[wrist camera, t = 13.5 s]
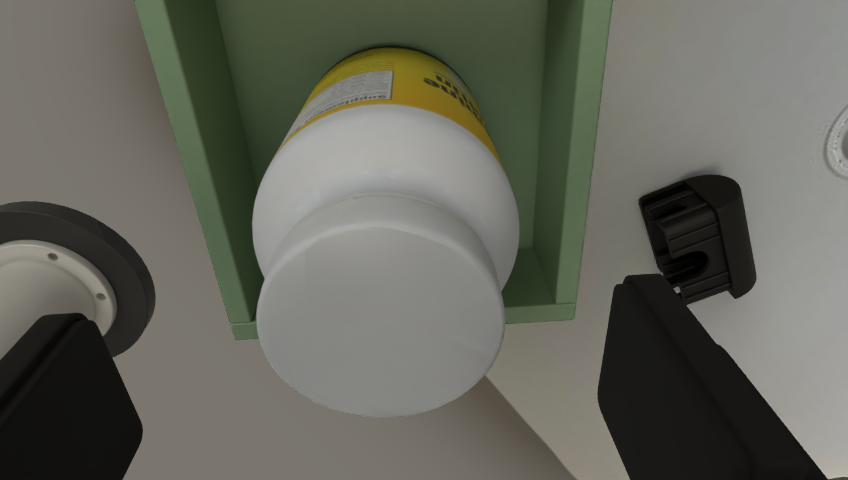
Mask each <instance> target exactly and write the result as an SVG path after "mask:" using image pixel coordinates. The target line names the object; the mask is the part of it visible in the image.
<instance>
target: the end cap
mask: <svg viewBox="0 0 848 480" xmlns="http://www.w3.org/2000/svg"><path fill="white" fill-rule="evenodd" d="M639 205H640V208H641V212H642V215H643V219H644V222H645V225H646V229H647V232H648V235H649V239H650V242H651V246H652V249H653V252H654V256H655V259H656V263H657V266H658V268H659V269H660V271H661V272H662V273H663V276H664V278H665V279H666V280H667V281H668V283H669V284H670V285H671V287H672V288H675V287H678V286H679V288H680V293H677V294H678V296H679V297H680V298H681V299H682V301H683V302H684V303H685V305H688V304H691V303H694V302H696V301H699V300H702V299H705V298H707V297H710V296H713V295H716V294H718V293H721V292H724V291H728V292H729V293H730V294H731V295H732V296H733V297H734V298H735V299H737V298H739V297H741V296H743V295H745V294H746V293H748V292H749V291H750V290H751V289H752V287H753V286H754V284H755V282H756V270H755V264H754V259H753V253H752V248H751V242H750V237H749V231H748V226H747V220H746V215H745V209H744V204H743V198H742V193H741V188H740V186H739V184H738V183H737V182H736V181H735V180H733V179H731V178H729V177H726V176H721V175H701V176H696V177H692V178H688V179H686V180H683V181H680V182H677V183H675V184H672V185H670V186H667V187H665V188H663V189H660V190H658V191H655V192H653V193H650V194H648V195H645V196H643V197H642V198H641V199H640V200H639Z"/></svg>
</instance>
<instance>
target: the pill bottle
mask: <svg viewBox="0 0 848 480" xmlns="http://www.w3.org/2000/svg"><path fill="white" fill-rule="evenodd" d="M252 232H253V245H254V249H255V254H256V257H257V261H258V264H259V267H260V269H261V272H262V274H263V276H264V279H265V280H264V283H263V286H262V289H261V292H260V296H259V300H258V304H257V313H256V320H257V332H258V337H259V340H260V343H261V346H262V349H263V352H264V354H265V356H266V357H267V359H268V361H269V363H270V364H271V365H272V367H273V369H274V370H275V371H276V373H277V374H278V375H279V376H280V377H281V378H282V379H283V380H284V381H285V382H286V383H287V384H288V385H290V386H291V387H292V388H293V389H294V390H295V391H297V392H298V393H300V394H301V395H303V396H304V397H306V398H308V399H309V400H311V401H313V402H315V403H317V404H319V405H321V406H324V407H326V408H329V409H332V410H335V411H339V412H342V413H346V414H352V415H357V416H367V417H379V418H394V417H404V416H410V415H415V414H419V413H423V412H426V411H429V410H433V409H436V408H438V407H440V406H443V405H445V404H447V403H449V402H451V401H453V400H455V399H457V398H458V397H460V396H461V395H463V394H464V393H465V392H467V391H468V390H469V389H470V388H472V387H473V386H474V385H475V384H476V383H477V382H478V381H480V380H481V378H482V377H483V376H484V375H485V374H486V372H487V371H488V370H489V369H490V367H491V366H492V364H493V362H494V361H495V359H496V357H497V355H498V353H499V350H500V347H501V344H502V340H503V337H504V330H505V307H504V303H503V298H502V294H501V291H502V289H503V288H504V286H505V284H506V282H507V280H508V278H509V276H510V274H511V272H512V269H513V266H514V263H515V259H516V255H517V250H518V245H519V216H518V210H517V205H516V201H515V197H514V194H513V191H512V189H511V186H510V183H509V181H508V178H507V176H506V173H505V171H504V168H503V166H502V164H501V161H500V159H499V157H498V154H497V152H496V150H495V147H494V145H493V143H492V140H491V138H490V135H489V133H488V131H487V128H486V126H485V123H484V121H483V118H482V116H481V113H480V111H479V108H478V106H477V104H476V101H475V99H474V97H473V95H472V93H471V91H470V89H469V88H468V86H467V85H466V83H465V82H464V81H463V79H462V78H461V77H460V76H459V75H458V74H457V73H456V72H455V70H453V69H452V68H451V67H450V66H449V65H448V64H446V63H445V62H444V61H442V60H441V59H439V58H437V57H436V56H434V55H432V54H430V53H428V52H425V51H423V50H420V49H417V48H413V47H409V46H402V45H380V46H374V47H370V48H365V49H362V50H360V51H357V52H354V53H352V54H350V55H348V56H347V57H345V58H343V59H342V60H340V61H339V62H337V63H336V64H335V65H334V66H333V67H331V68H330V69H329V70H328V71H327V72H326V73H325V74H324V75H323V76H322V78H321V79H320V81H319V82H318V83H317V85H316V86H315V88H314V89H313V91H312V93H311V94H310V96H309V98H308V100H307V101H306V103H305V105H304V107H303V108H302V110H301V112H300V113H299V115H298V117H297V118H296V120H295V122H294V123H293V125H292V127H291V129H290V130H289V132H288V134H287V135H286V137H285V139H284V141H283V142H282V144H281V146H280V147H279V149H278V151H277V153H276V154H275V156H274V158H273V160H272V161H271V163H270V165H269V167H268V169H267V171H266V173H265V175H264V177H263V179H262V181H261V184H260V186H259V189H258V192H257V195H256V199H255V204H254V210H253V219H252Z"/></svg>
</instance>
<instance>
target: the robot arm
mask: <svg viewBox="0 0 848 480" xmlns="http://www.w3.org/2000/svg"><path fill="white" fill-rule="evenodd" d="M116 313H117V302H116V297H115V294H114V291H113V288H112V287H111V285H110V284H109V282H108V280H107V279H106V277H105V276H104V275H103V274H102V273H101V272H100V271H99V269H98V268H96V267H95V266H94V265H93V264H92V263H90V262H89V261H88V260H87V259H85V258H83V257H82V256H80V255H79V254H77V253H75V252H73V251H71V250H69V249H67V248H65V247H62V246H59V245H56V244H53V243H50V242H44V241H38V240H16V241H10V242H7V243H4V244H1V245H0V480H122V479H123V477H124V475H125V474H126V472H127V469H128V467H129V465H130V463H131V461H132V459H133V457H134V455H135V453H136V451H137V449H138V447H139V445H140V443H141V439H142V433H143V428H142V423H141V421H140V419H139V416H138V414H137V412H136V410H135V407H134V405H133V403H132V401H131V399H130V396H129V394H128V392H127V390H126V387H125V385H124V383H123V381H122V379H121V376H120V374H119V372H118V370H117V367H116V365H115V363H114V361H113V359H112V356H111V354H110V352H109V350H108V347H107V345H106V343H105V341H104V339H103V336H104V335H105V334H106V333H107V331H108V330H109V329H110V327H111V326H112V324H113V322H114V320H115V318H116ZM598 403H599V407H600V410H601V413H602V415H603V417H604V420H605V422H606V424H607V427H608V429H609V431H610V434H611V436H612V438H613V441H614V443H615V445H616V448H617V450H618V452H619V455H620V457H621V459H622V462H623V464H624V466H625V469H626V471H627V473H628V476H629V478H630V480H848V477H840V478H833V479H827V478H826V476H825V475H824V474H823V473H822V471H821V470H820V469H819V468H818V466H817V465H816V464H815V463H814V461H813V460H812V459H811V458H810V456H809V455H808V454H807V452H806V451H805V450H804V449H803V447H802V446H801V445H800V444H799V442H798V441H797V440H796V439H795V437H794V436H793V435H792V433H791V432H790V431H789V430H788V428H787V427H786V426H785V425H784V423H783V422H782V421H781V420H780V418H779V417H778V416H777V415H776V413H775V412H774V411H773V409H772V408H771V407H770V406H769V404H768V403H767V402H766V401H765V399H764V398H763V397H762V396H761V394H760V393H759V392H758V391H757V389H756V388H755V387H754V385H753V384H752V383H751V382H750V380H749V379H748V378H747V377H746V375H745V374H744V373H743V372H742V370H741V369H740V368H739V366H738V365H737V364H736V363H735V361H734V360H733V359H732V358H731V356H730V355H729V354H728V353H727V352H726V351H725V350H724V349H723V348H722V347H721V346H720V345H718V344H716V343H715V342H714V340H713V339H712V338H711V337H710V335H709V334H708V333H707V331H706V330H705V329H704V328H703V326H702V325H701V324H700V322H699V321H698V320H697V319H696V317H695V316H694V315H693V313H692V312H691V311H690V310H689V308H688V307H687V306H686V305H685V303H684V302H683V301H682V299H681V298H680V297H679V296H678V294H677V293H676V292H675V290H674V289H673V288H672V287H671V285H670V284H669V283H668V281H667V280H666V279H665V278H664V277H663V276H662V275H661V274H643V275H628V276H627V277H625V279H624V281H623V284H617V285H616V286H615V287H614V291H613V297H612V303H611V310H610V316H609V322H608V329H607V335H606V341H605V348H604V354H603V360H602V367H601V373H600V379H599V386H598Z"/></svg>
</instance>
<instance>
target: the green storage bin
mask: <svg viewBox="0 0 848 480" xmlns="http://www.w3.org/2000/svg"><path fill="white" fill-rule="evenodd" d="M134 2H135V5H136V9H137V12H138V15H139V19H140V22H141V25H142V29H143V32H144V36H145V39H146V42H147V45H148V49H149V52H150V56H151V59H152V63H153V66H154V69H155V73H156V76H157V79H158V83H159V86H160V89H161V93H162V96H163V100H164V103H165V106H166V110H167V113H168V116H169V120H170V123H171V126H172V130H173V133H174V136H175V140H176V143H177V146H178V150H179V153H180V157H181V160H182V163H183V167H184V170H185V174H186V177H187V180H188V183H189V187H190V190H191V194H192V197H193V200H194V204H195V207H196V211H197V214H198V217H199V221H200V224H201V227H202V230H203V234H204V237H205V241H206V244H207V248H208V250H209V254H210V258H211V261H212V264H213V268H214V271H215V274H216V278H217V281H218V285H219V288H220V291H221V295H222V298H223V301H224V305H225V308H226V311H227V315H228V318H229V322H230V323H231V328H232V331H233V335H234V338H235V340H247V339H259V337H258V332H257V320H256V313H257V304H258V300H259V296H260V292H261V289H262V286H263V283H264V280H265V279H264V276H263V274H262V272H261V269H260V267H259V264H258V261H257V257H256V254H255V249H254V245H253V232H252V219H253V210H254V204H255V199H256V195H257V192H258V189H259V186H260V184H261V181H262V179H263V177H264V175H265V173H266V171H267V169H268V167H269V165H270V163H271V161H272V160H273V158H274V156H275V154H276V153H277V151H278V149H279V147H280V146H281V144H282V142H283V141H284V139H285V137H286V135H287V134H288V132H289V130H290V129H291V127H292V125H293V123H294V122H295V120H296V118H297V117H298V115H299V113H300V112H301V110H302V108H303V107H304V105H305V103H306V101H307V100H308V98H309V96H310V94H311V93H312V91H313V89H314V88H315V86H316V85H317V83H318V82H319V81H320V79H321V78H322V76H323V75H324V74H325V73H326V72H327V71H328V70H329V69H330V68H331V67H333V66H334V65H335V64H336V63H337V62H339V61H340V60H342V59H343V58H345V57H347V56H348V55H350V54H352V53H354V52H357V51H360V50H362V49H365V48H370V47H374V46H380V45H402V46H409V47H413V48H417V49H420V50H423V51H425V52H428V53H430V54H432V55H434V56H436V57H437V58H439V59H441V60H442V61H444V62H445V63H446V64H448V65H449V66H450V67H451V68H452V69H453V70H455V72H456V73H457V74H458V75H459V76H460V77H461V78H462V79H463V81H464V82H465V83H466V85H467V86H468V88H469V89H470V91H471V93H472V95H473V97H474V99H475V101H476V104H477V106H478V108H479V111H480V113H481V116H482V118H483V121H484V123H485V126H486V128H487V131H488V133H489V135H490V138H491V140H492V143H493V145H494V147H495V150H496V152H497V154H498V157H499V159H500V161H501V164H502V166H503V168H504V171H505V173H506V176H507V178H508V181H509V183H510V186H511V189H512V191H513V194H514V197H515V201H516V205H517V210H518V216H519V245H518V250H517V255H516V259H515V263H514V266H513V269H512V272H511V274H510V276H509V278H508V280H507V282H506V284H505V286H504V288H503V289H502V291H501V294H502V298H503V303H504V307H505V324H514V323H531V322H547V321H564V320H574V317H575V309H576V303H575V302H576V300H577V292H578V284H579V276H580V267H581V259H582V251H583V242H584V234H585V226H586V218H587V209H588V201H589V193H590V184H591V176H592V168H593V160H594V151H595V143H596V135H597V126H598V118H599V110H600V102H601V93H602V85H603V77H604V69H605V60H606V52H607V44H608V35H609V27H610V19H611V11H612V2H613V0H134Z"/></svg>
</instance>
